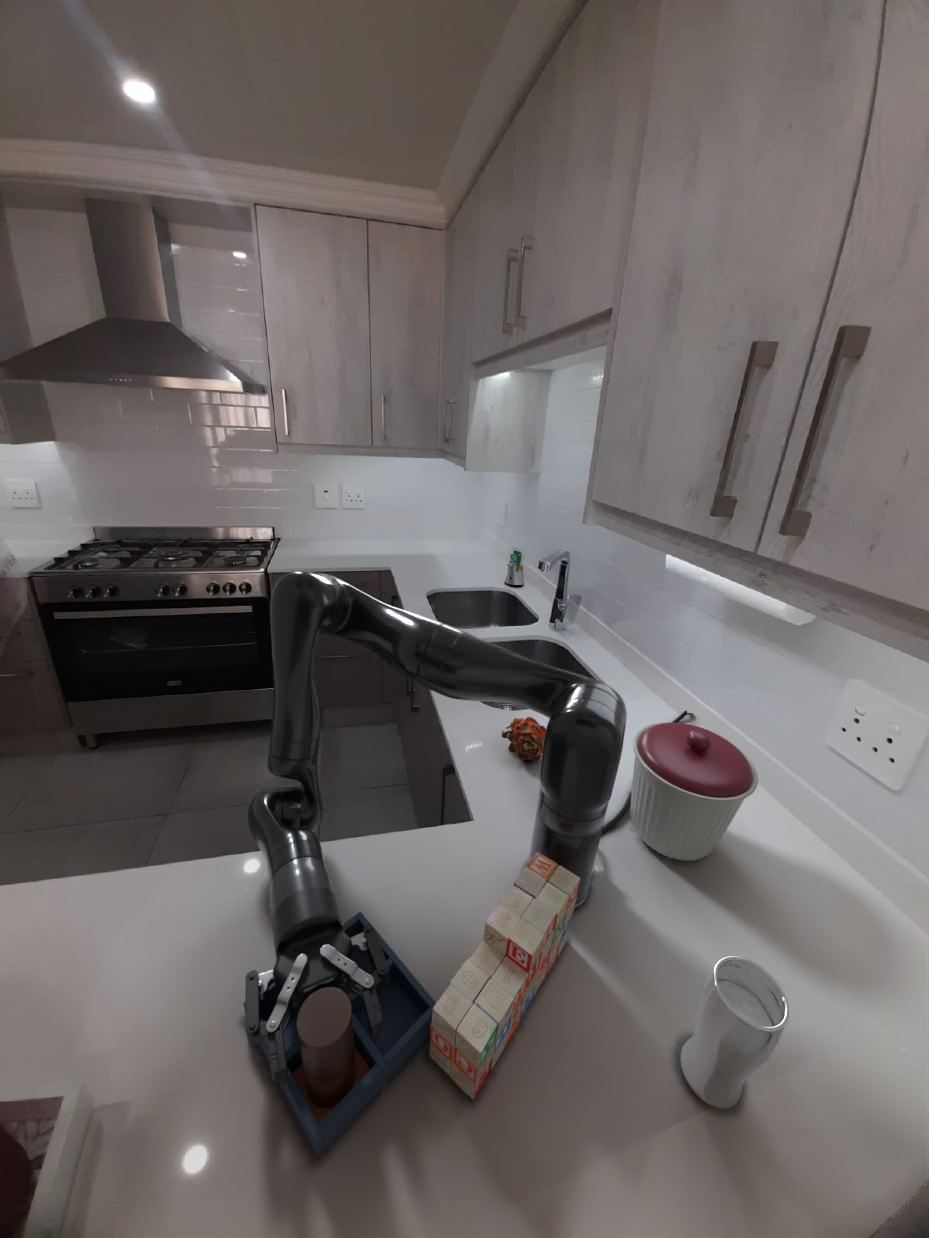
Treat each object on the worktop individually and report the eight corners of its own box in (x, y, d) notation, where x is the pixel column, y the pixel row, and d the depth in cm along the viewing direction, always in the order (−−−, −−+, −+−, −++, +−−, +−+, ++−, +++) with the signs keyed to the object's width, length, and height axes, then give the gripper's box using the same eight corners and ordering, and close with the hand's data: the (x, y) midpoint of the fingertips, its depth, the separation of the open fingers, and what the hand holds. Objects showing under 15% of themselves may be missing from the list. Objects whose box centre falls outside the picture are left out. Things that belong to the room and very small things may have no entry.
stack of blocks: (473, 1103, 50) (482, 1036, 45) (427, 1056, 53) (430, 989, 48) (567, 939, 65) (581, 876, 60) (527, 911, 69) (537, 849, 64)
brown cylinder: (339, 1035, 54) (333, 975, 49) (365, 1077, 51) (362, 1016, 46) (296, 1075, 50) (286, 1014, 46) (322, 1122, 47) (314, 1062, 43)
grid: (361, 928, 65) (360, 910, 64) (438, 1024, 56) (439, 1006, 54) (246, 1020, 55) (242, 1002, 54) (318, 1158, 46) (315, 1140, 44)
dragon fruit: (530, 781, 95) (512, 748, 106) (565, 755, 95) (543, 725, 106) (507, 752, 92) (491, 722, 103) (544, 725, 92) (523, 698, 103)
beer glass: (752, 1070, 53) (798, 989, 47) (734, 1134, 49) (783, 1052, 43) (688, 1019, 58) (723, 938, 51) (666, 1073, 53) (701, 991, 47)
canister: (629, 875, 75) (659, 768, 66) (605, 789, 92) (627, 695, 83) (748, 886, 75) (794, 779, 66) (702, 798, 91) (734, 704, 82)
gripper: (236, 909, 55) (245, 1076, 42) (361, 866, 61) (403, 1000, 48) (245, 951, 58) (256, 1118, 45) (363, 906, 64) (403, 1042, 51)
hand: (332, 1057), depth 46 cm, fingers open, 8 cm apart
